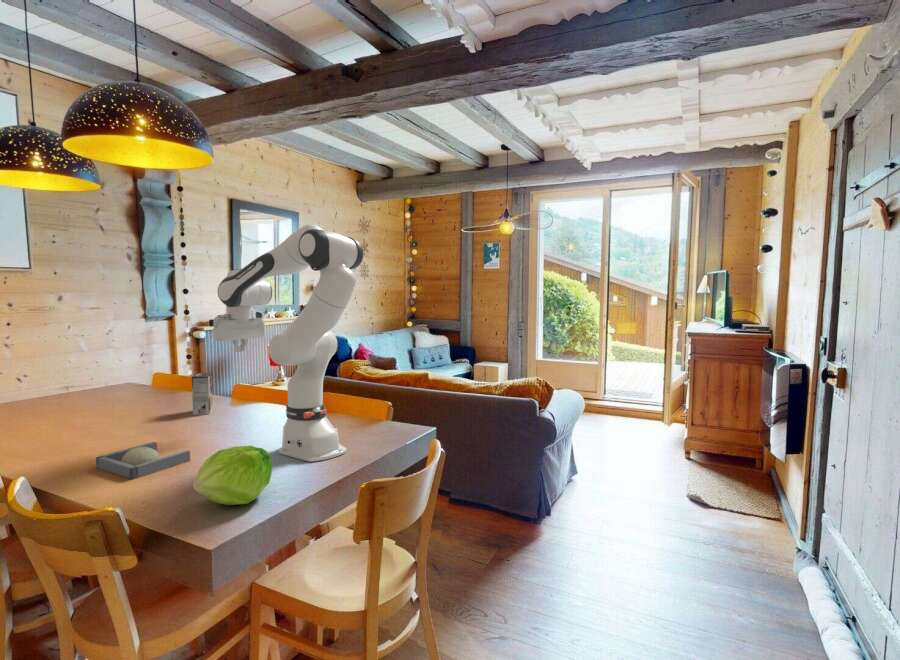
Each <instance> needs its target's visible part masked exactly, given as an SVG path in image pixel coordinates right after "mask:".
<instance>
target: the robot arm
mask: <svg viewBox="0 0 900 660" xmlns="http://www.w3.org/2000/svg"><path fill="white" fill-rule="evenodd" d="M363 248H364V247H363V246H362V244H361V243H360V242H359V241H357V239H355V238H352V237H349V236H346V235H343V234H340V233H338V232H334V231H328V230H324V229H323V228H321V227H320V226H319V225H317V224H316V223H315V224H314V223H308V224H304V225H303V226H301V227H300V228H298V229H297V230H294V232H292V233H291V234H290V235H289V236H287V238H286V239H285V240H283V241H282V242H281V243H280V244H279V245H277V246H276V247H274V248H272V249H271V250H268V251H267V252H265V253H264V254H261V255H260V256H258V257H256V258H255V259H254V260H252V261H251V262H249V264H247V265H245V266H244V267H242V268H238V269H232V270H229V271H228V272H227V275H226V277H224V279H223V280H222V281H221V282H220V283H219V284H218V287H217V297H218V298H219V301H221V303H222V304H224V305H225V314H218V315H217V316H216V317H214V319H213V328H212V339H213V340H214V342H228V341H229V342H230V341H231V343H232V345H233V346H234V347H235V348H234V351H235V352H236V353H242V352H245V351H246V346H247V344H248V341H249V340H250V339H259V338H260V339H261V338H264V337H265V336H266V324H265V320H264V318H265V313H264V312H262V311H259V310H257V309H254V308H253V307H256V306H258V307H259V306H265V305H268V304H269V303H270V302H271V300H272V298H273V288H272V287H273V286H271V284H270V282H268V280H266V278H268V277H269V278H270V277H276V276H286V275H288V276H289V275H296V274H299V273H301V272H303V271H305V270H306V269H307V268H308V267H310V269H312V270H313V271H315V272H317V271H319V273H320V274H319V275H320V277H319V279H318V281H317V283H316V286H315V287H314V289H313V290H312V293H311V294H310V297H309V298H308V300H307V302H306V304H305V306H304V307H303V309H302V310H301V312H300V313H299V314H298V316H297V317H296V318H295V319H294V320H293V321H292V322H291V323H290V324H289V325H288V326H287V327H286V328H285V329H283V330H282V331H281V332H279V333H276V335H274V336H273V337H272V338H271V339H270V341H269V344H268V354H269V357H270V358H271V360H272V362H274V363H275V364H277V365H279V366H280V365H281V366H287V367H289V366H291V367H293V366H297V367H296V370H295V372H294V373H293V375H292V376H291V377H290V378H289V379H288V381H287V382H288V383H287V405H286V407H285V415H286V418H287V419H286V422H285V423H284V425H283V429H282V441H281V442H282V443H281V447H280V448H278V454H280V455H284V456H287V457H291V458H295V459H297V460H301V461H305V462H308V463H309V462H310V463H311V462H320V461H325V460H329V459H332V458H335V457H339V456H341V455H343V454H346V452H348V451H347V447H345V446H343V445H342V444H341V443H340V439H339V430H338V428H337V427H336V428H335V427H334V425H332V423H331V422H330V421H329V419H328V418H327V413H328V412H327V411H328V409H327V408H326V407H325V404H324V402H323V398H324V395H323V394H324V393H323V391H324V389H323V388H324V380H325V379H324V378H325V376H326V375H325V374H326V370H327V368H328V365H329V362H330V360H331V359H332V357H333V356H334V355H335V354H336V353H337V351H338V339H337V337H336V335H335V334H334V332H332V331H331V330H332V329H334V328H335V327H336V325H337V324H338V322H339V320H341V317H342V315H343V313H344V311H345V309H346V307H347V305H348V303H349V301H350V300H351V296H352V295H353V292H354V290H355V286H356V281H357V277H356V275H355V272H353V270H354V269H356V268H358V267H359V266H360V265H361V264H362V262H363V259H364V249H363ZM248 339H249V340H248ZM239 343H241V344H239Z"/></svg>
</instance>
